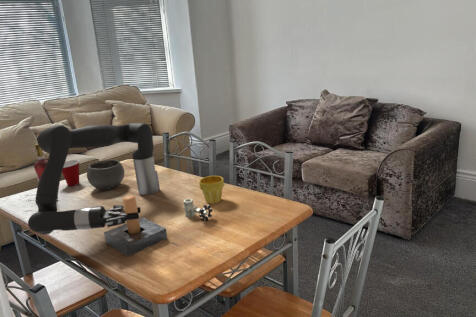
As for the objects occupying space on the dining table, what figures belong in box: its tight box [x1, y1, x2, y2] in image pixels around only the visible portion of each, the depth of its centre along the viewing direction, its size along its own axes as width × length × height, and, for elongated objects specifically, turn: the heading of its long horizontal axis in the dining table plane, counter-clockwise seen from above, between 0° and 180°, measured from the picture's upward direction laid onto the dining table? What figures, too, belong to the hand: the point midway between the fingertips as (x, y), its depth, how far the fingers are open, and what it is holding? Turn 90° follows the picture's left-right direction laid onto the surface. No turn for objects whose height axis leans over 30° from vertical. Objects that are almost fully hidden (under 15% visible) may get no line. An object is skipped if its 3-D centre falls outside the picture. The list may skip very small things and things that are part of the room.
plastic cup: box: [61, 159, 81, 187], centre depth 217 cm, size 11×11×12 cm
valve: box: [183, 198, 213, 222], centre depth 165 cm, size 7×7×12 cm
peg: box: [122, 195, 141, 236], centre depth 148 cm, size 4×4×15 cm
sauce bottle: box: [33, 143, 59, 199], centre depth 194 cm, size 7×7×28 cm
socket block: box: [103, 216, 168, 257], centre depth 151 cm, size 16×16×4 cm
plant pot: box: [198, 175, 225, 205], centre depth 180 cm, size 10×10×10 cm
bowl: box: [86, 159, 125, 191], centre depth 208 cm, size 18×18×13 cm
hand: (139, 212), depth 148 cm, fingers closed on peg, 4 cm apart
